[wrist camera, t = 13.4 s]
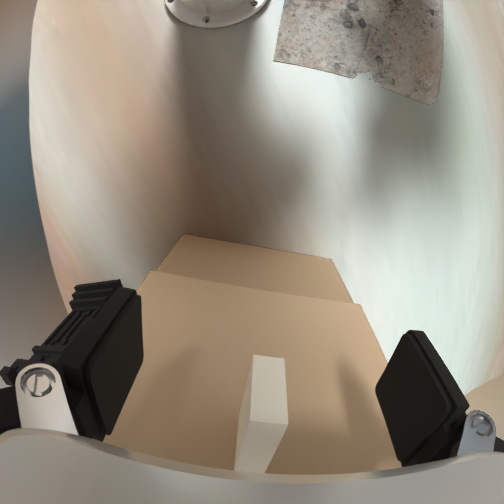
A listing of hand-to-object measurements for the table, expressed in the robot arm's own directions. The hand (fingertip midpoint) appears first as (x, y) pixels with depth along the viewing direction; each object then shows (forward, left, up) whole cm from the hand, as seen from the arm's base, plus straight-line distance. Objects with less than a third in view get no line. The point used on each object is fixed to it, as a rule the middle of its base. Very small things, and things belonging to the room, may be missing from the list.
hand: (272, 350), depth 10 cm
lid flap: (+6, 0, -6) cm, 8 cm away
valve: (-37, +8, -26) cm, 46 cm away
